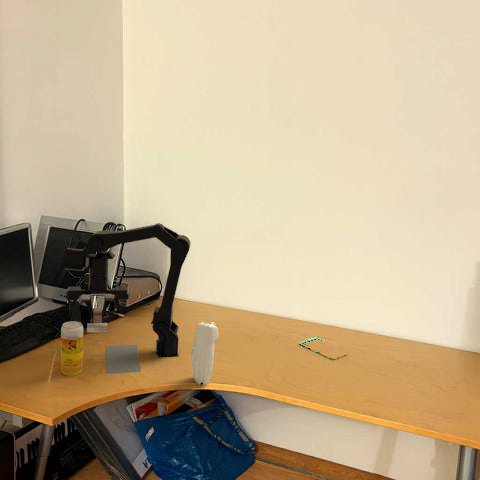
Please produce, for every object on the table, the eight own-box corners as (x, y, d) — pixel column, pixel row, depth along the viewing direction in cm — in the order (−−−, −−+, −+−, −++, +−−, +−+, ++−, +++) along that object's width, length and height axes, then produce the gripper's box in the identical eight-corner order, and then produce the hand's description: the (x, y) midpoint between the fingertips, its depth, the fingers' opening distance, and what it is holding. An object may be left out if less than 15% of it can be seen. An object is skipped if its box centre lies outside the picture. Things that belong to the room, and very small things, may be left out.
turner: (88, 315, 164) (88, 307, 164) (107, 315, 166) (107, 307, 165) (86, 332, 150) (87, 324, 150) (107, 331, 152) (107, 323, 151)
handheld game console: (332, 361, 167) (333, 358, 167) (297, 345, 179) (297, 342, 178) (350, 355, 174) (351, 351, 173) (315, 339, 185) (315, 336, 185)
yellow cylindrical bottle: (62, 379, 141) (62, 329, 139) (59, 370, 147) (59, 322, 144) (84, 376, 144) (85, 327, 141) (80, 367, 149) (81, 319, 147)
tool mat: (136, 346, 167) (136, 344, 167) (140, 373, 148) (140, 371, 148) (105, 347, 165) (105, 346, 164) (105, 375, 146) (105, 373, 145)
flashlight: (216, 377, 149) (191, 375, 149) (220, 320, 146) (195, 318, 146) (214, 388, 143) (188, 385, 143) (218, 328, 139) (192, 326, 139)
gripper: (127, 265, 166) (126, 309, 169) (68, 264, 161) (68, 310, 164) (129, 274, 156) (127, 321, 159) (66, 273, 151) (66, 322, 154)
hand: (97, 318), depth 159 cm, fingers closed on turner, 3 cm apart
